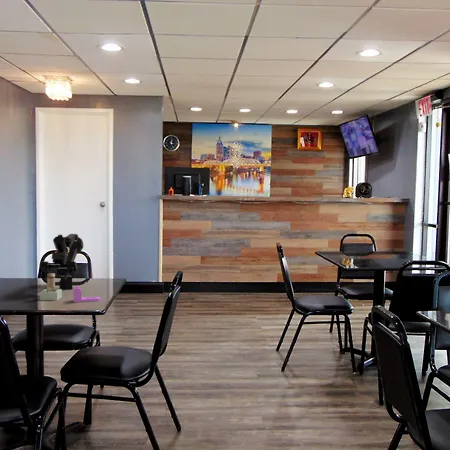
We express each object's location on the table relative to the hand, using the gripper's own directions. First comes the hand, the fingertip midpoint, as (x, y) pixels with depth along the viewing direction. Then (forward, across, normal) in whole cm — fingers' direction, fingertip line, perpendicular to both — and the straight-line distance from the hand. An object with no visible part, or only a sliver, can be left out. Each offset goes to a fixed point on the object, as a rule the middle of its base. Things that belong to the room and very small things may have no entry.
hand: (55, 279), depth 263 cm
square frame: (+12, 0, 0) cm, 12 cm away
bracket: (+15, +19, -3) cm, 25 cm away
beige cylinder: (+12, 0, 0) cm, 12 cm away
